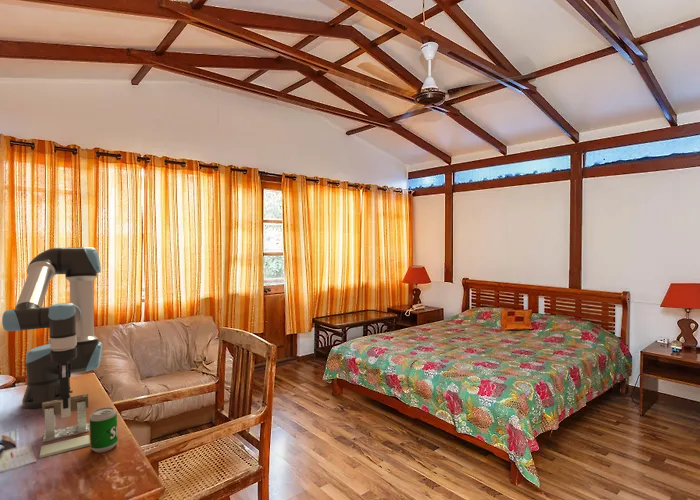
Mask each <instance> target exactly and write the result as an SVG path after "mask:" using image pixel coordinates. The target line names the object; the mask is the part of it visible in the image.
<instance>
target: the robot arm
mask: <svg viewBox="0 0 700 500" xmlns="http://www.w3.org/2000/svg"><path fill="white" fill-rule="evenodd" d="M101 271H102V270H101V260H100V257H99V252H98V250H97V249H96V248H95V247H91V246H90V247H89V246H74V247H69V246H68V247H52V248H49V249H46V250H44V251H42V252H40V253H39V254H37V255H36V256H35V257H33V259H31V261H30V262H29V264H28V265H27V268H26V273H27V277H26V279H25V282H24V285H23V287H22V289H21V292H20V295H19V297H18V300H17V302H16V305H15V308H12V309H7V310H5V311H4V312H3V314H2V319H1V320H2V321H1V322H2V323H1V324H2V328H3V329H4V331H6V332H17V331H18V332H21V331H28V330H30V331H31V330H38V329H49V340H47V344H43V345H40V346H36V347H34V348H32V349H30V350H28V351H27V352H26V354H25V371H26V389H25V392H24V394H23V397H22V400H21V401H22V402H21V403H22V404H21V407H22V408H24V409H39V408H41V409H42V403H43V402H48V401H53V400H61V413H60V415H61V416H60V418H61V419H64V418H68V417H72V411H71V404H70V397H72V396H71V394H73V393H74V392H73V391H74V390H73V389H71V381H70V380H71V379H70V378H71V374H75V373H82V372H86V373H87V372H89V371H94V370H98V369H99V367H100V365H101V362H102V354H103V342H101V341H99V337H97V336H96V335H95V312H94V311H95V310H94V308H95V307H94V303H95V302H94V281H95V279H97V278H98V274H99V273H101ZM56 275H65V279H66V280H67V281H68V283H69V302H60V303H54V304H51V305H50V306H44V307H43V304H44V302H45V301H44V300H45V297H46V294H47V291H48V289H49V284H50V282H51V280H52V279H53V278H54V277H55V276H56Z"/></svg>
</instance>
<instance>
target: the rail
mask: <svg viewBox="0 0 700 500" xmlns="http://www.w3.org/2000/svg"><path fill="white" fill-rule="evenodd" d="M82 401H85V405H86V409H88V408H89V394H88V393H86V394H85V393H84V394H81V395H75V396H71V397H70V404H71V412H74V411H77V402H82ZM52 407H54V415H55V416H56V415H58V414H60V415H61V400H53V401H48V402H43V403H42V407H41V409H42V410H41V412H42V418H45V409H47V408H52Z"/></svg>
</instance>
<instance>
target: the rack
mask: <svg viewBox="0 0 700 500" xmlns="http://www.w3.org/2000/svg"><path fill="white" fill-rule="evenodd" d="M76 411H77V413H76V414H77V424H76V425H71V426H67V427H62V428H58V429H57V428H56V427H57V426H56V414H55V415H54V407H52V408H47V409H45V417H44V426H45V431H44V433H43V439H42V443H45V442H46V443H47V442H49V441H54V440H59V439H63V438H66V437H71V436H76V435H80V434H83V433H88V432H89V433H90V421H89V422H87V408H86V405H85V401H82V402H77V410H76Z"/></svg>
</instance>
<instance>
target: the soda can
mask: <svg viewBox="0 0 700 500" xmlns="http://www.w3.org/2000/svg"><path fill="white" fill-rule="evenodd" d="M118 432H119V431H118V412H117V409H115V408H114V407H110V406H107V407H101V408H98V409H95V410H94V411H93V412H92V413H91V414H90V415H89V433H90V435H89V440H90V449H91V450H92V451H94V452H95V453H104V452H108V451H111V450H113V449H114V448H115V446H116V445H117V444H118V443H119V438H118V437H119V435H118Z"/></svg>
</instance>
